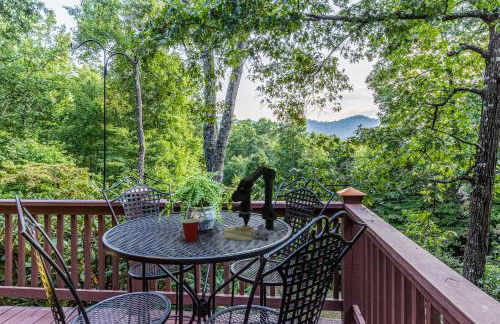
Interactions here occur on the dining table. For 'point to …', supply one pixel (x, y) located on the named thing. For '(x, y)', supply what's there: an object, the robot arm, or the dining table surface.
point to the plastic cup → (190, 229)
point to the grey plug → (232, 228)
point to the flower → (262, 232)
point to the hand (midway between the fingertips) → (245, 226)
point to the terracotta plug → (246, 227)
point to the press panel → (239, 233)
